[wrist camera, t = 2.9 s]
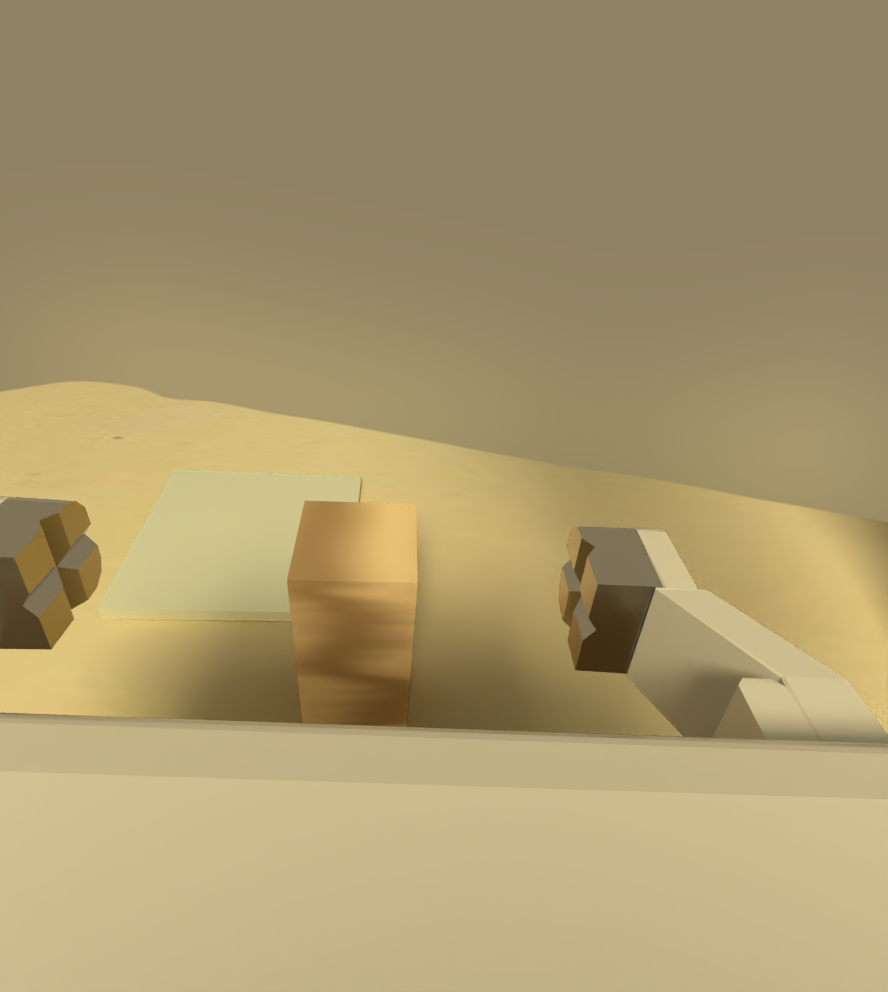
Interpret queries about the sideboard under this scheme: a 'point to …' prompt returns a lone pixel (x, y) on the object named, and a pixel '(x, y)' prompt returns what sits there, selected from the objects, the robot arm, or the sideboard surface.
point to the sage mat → (219, 546)
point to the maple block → (354, 611)
